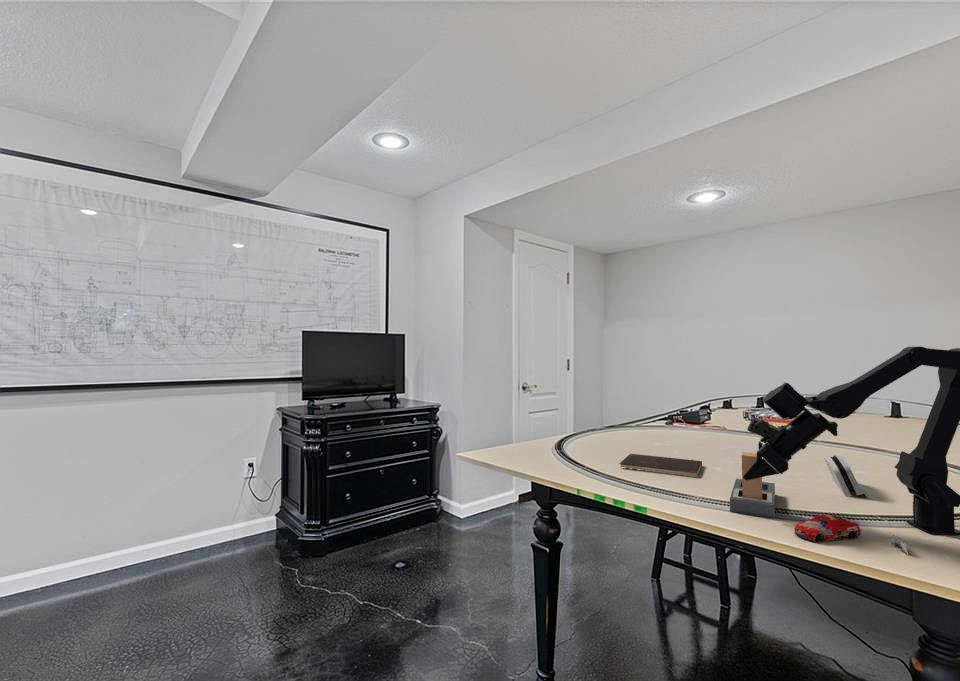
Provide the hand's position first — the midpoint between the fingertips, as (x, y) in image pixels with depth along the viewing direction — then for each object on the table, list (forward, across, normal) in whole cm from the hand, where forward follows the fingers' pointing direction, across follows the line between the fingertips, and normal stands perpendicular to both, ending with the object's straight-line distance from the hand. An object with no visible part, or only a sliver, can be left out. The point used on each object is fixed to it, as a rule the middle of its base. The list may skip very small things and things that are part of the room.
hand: (745, 474), depth 114 cm
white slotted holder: (-10, -31, +22) cm, 39 cm away
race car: (-4, +11, +17) cm, 20 cm away
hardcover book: (+24, -30, -12) cm, 40 cm away
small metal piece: (-13, +12, +25) cm, 31 cm away
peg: (+5, 0, +7) cm, 8 cm away
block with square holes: (+5, -5, +7) cm, 9 cm away
